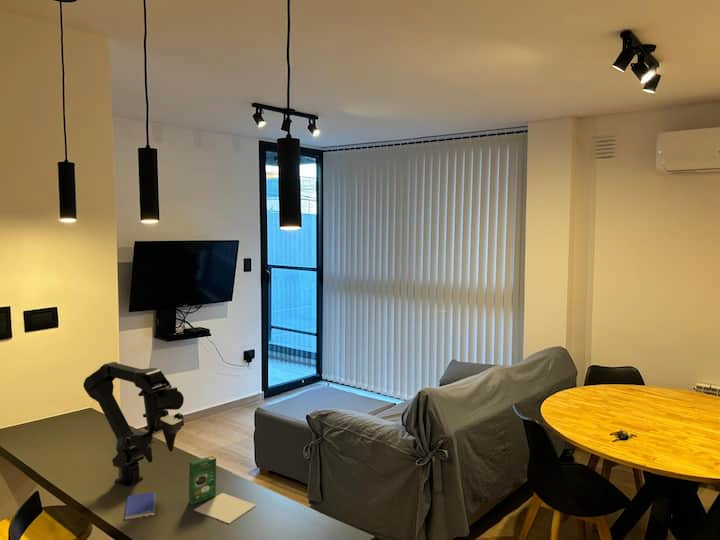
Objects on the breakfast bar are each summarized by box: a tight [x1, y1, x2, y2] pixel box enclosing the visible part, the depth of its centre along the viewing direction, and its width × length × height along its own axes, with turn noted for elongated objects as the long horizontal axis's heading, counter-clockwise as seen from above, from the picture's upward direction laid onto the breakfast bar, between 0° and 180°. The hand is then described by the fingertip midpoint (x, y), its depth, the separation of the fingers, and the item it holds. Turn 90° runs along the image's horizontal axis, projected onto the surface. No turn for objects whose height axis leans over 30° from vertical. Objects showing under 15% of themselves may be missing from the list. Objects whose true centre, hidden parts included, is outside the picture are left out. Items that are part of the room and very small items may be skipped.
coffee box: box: [188, 455, 217, 505], centre depth 173 cm, size 8×3×13 cm, turn 130°
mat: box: [193, 492, 257, 525], centre depth 169 cm, size 14×12×1 cm
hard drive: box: [124, 492, 156, 520], centre depth 169 cm, size 2×8×12 cm
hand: (161, 456), depth 178 cm, fingers open, 9 cm apart
